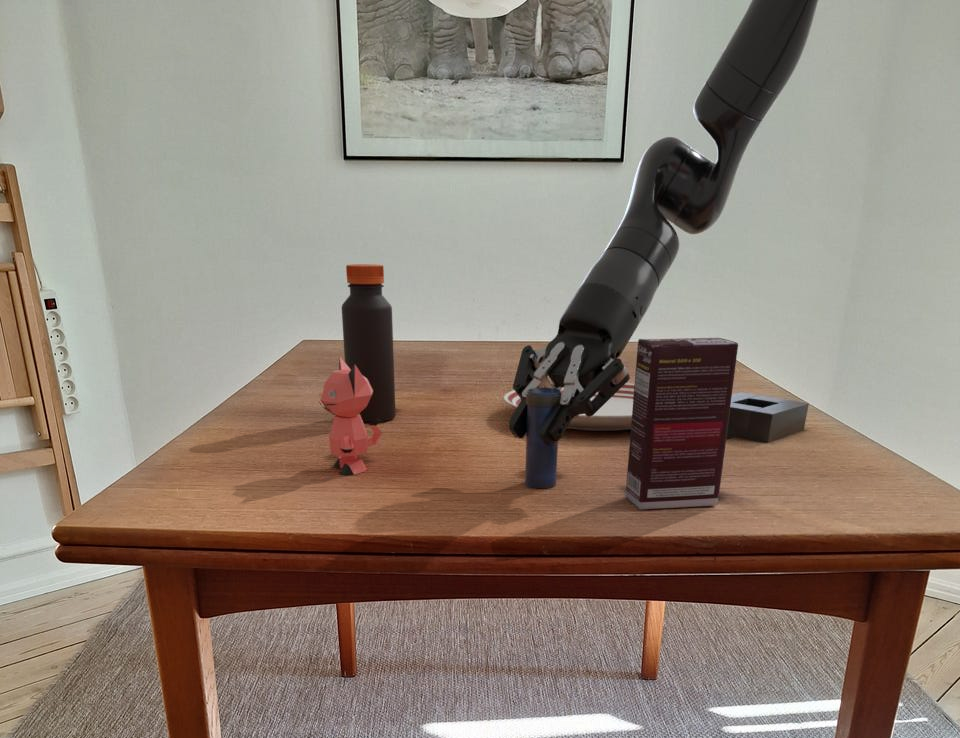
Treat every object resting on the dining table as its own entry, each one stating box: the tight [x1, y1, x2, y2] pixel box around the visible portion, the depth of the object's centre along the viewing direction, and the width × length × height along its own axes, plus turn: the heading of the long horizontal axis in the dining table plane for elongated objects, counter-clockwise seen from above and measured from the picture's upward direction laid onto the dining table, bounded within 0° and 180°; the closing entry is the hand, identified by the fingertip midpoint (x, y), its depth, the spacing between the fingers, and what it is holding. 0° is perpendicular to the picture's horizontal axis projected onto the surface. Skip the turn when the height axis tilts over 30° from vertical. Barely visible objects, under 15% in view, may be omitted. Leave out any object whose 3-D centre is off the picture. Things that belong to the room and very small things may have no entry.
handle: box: [524, 388, 562, 489], centre depth 90 cm, size 4×4×10 cm
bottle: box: [341, 263, 396, 424], centre depth 115 cm, size 7×7×20 cm
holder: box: [726, 391, 810, 444], centre depth 111 cm, size 10×10×4 cm
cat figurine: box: [318, 355, 383, 476], centre depth 94 cm, size 7×7×12 cm
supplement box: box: [625, 337, 739, 511], centre depth 83 cm, size 9×5×16 cm, turn 100°
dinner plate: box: [503, 382, 635, 432], centre depth 121 cm, size 27×27×3 cm
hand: (530, 436), depth 88 cm, fingers closed on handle, 3 cm apart
